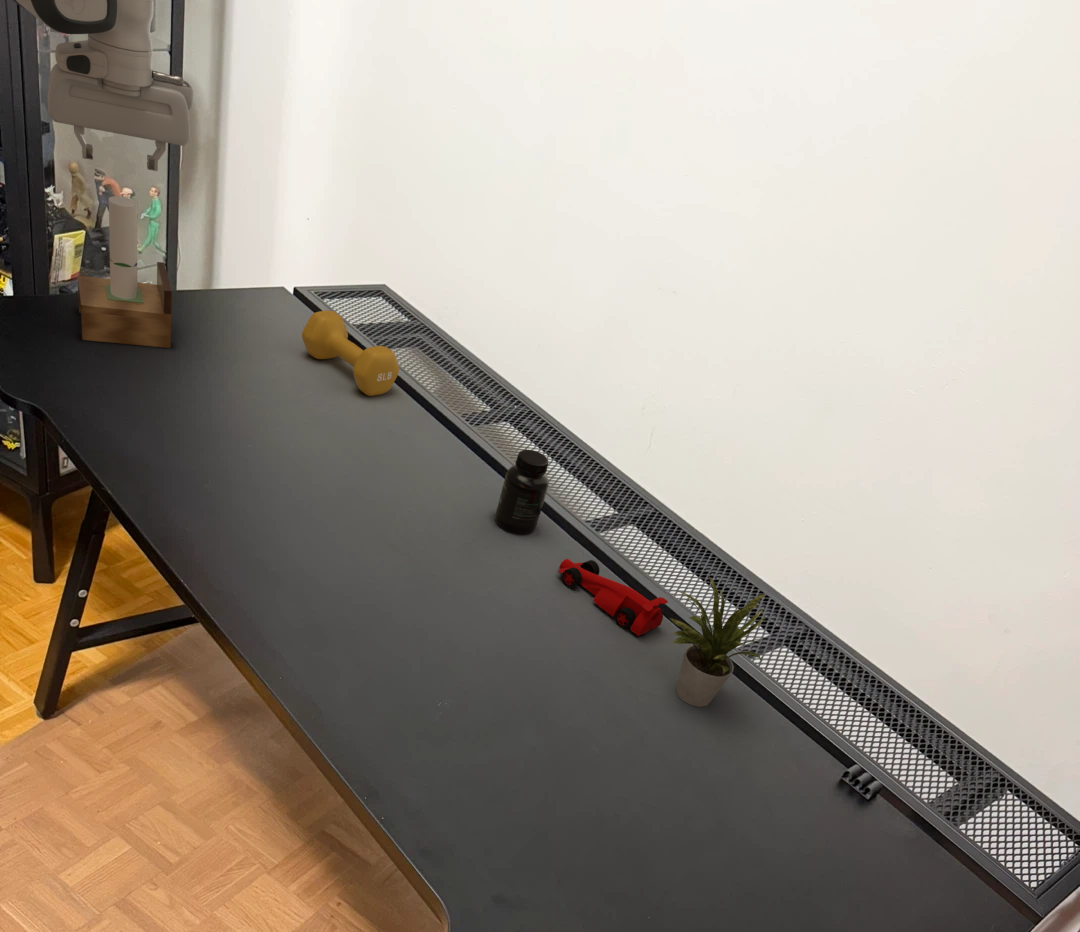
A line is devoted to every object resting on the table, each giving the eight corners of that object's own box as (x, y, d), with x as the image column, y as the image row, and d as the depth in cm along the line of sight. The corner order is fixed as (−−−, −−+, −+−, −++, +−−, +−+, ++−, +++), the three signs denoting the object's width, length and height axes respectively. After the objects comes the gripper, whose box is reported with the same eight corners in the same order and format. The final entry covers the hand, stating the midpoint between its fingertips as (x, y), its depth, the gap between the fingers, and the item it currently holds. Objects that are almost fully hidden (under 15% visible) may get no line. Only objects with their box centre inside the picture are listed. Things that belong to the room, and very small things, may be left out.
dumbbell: (399, 394, 186) (407, 351, 181) (361, 401, 180) (368, 357, 175) (334, 348, 194) (339, 305, 188) (295, 353, 188) (300, 310, 182)
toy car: (574, 564, 159) (583, 537, 155) (660, 627, 152) (671, 600, 149) (549, 574, 155) (558, 547, 151) (636, 639, 148) (647, 612, 145)
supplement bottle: (494, 508, 165) (511, 442, 157) (534, 517, 166) (554, 451, 159) (494, 530, 160) (512, 463, 152) (536, 539, 161) (556, 473, 153)
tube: (104, 290, 172) (102, 197, 163) (125, 286, 175) (125, 195, 166) (122, 300, 171) (121, 207, 162) (142, 297, 174) (143, 205, 165)
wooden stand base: (82, 340, 171) (80, 280, 164) (78, 309, 178) (76, 251, 172) (170, 348, 176) (171, 291, 170) (163, 318, 184) (164, 262, 178)
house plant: (679, 644, 150) (719, 552, 139) (757, 695, 145) (805, 604, 135) (628, 681, 140) (668, 585, 129) (711, 737, 136) (759, 642, 125)
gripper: (191, 73, 157) (187, 169, 166) (44, 42, 149) (48, 144, 157) (196, 85, 153) (192, 182, 162) (46, 53, 145) (50, 158, 153)
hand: (120, 163), depth 160 cm, fingers open, 8 cm apart
